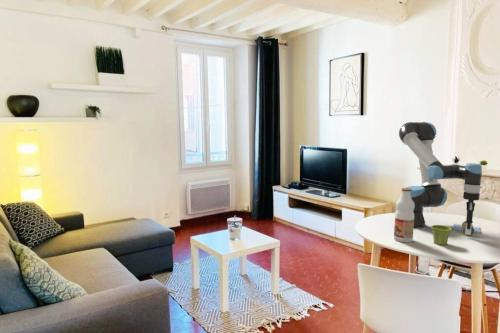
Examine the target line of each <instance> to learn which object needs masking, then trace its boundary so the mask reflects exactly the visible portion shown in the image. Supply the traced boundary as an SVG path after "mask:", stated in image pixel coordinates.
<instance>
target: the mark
mask: <svg viewBox="0 0 500 333" xmlns="http://www.w3.org/2000/svg"><path fill="white" fill-rule="evenodd" d="M452 225H453V230H454V231H460V232H463V228H462V224H460V223H459V224H458V223H453V224H452ZM477 227H478V226H476V227H474V225H473V228H474V232H475V234H482V230H481V228H480V229H479V228H477Z"/></svg>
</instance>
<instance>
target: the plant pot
mask: <svg viewBox="0 0 500 333" xmlns="http://www.w3.org/2000/svg"><path fill="white" fill-rule="evenodd" d="M431 230H432V238H433V239H432V240H433V244H435V245H440V246H446V245H448V241H449V237H450V233H451V231H452V227H451V226H448V225H442V224H433V225H431Z"/></svg>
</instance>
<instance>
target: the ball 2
mask: <svg viewBox="0 0 500 333" xmlns="http://www.w3.org/2000/svg"><path fill="white" fill-rule="evenodd" d="M465 229H466V226H465V227H464V228H463V231H462V232H463V234H464V235H466V234H465ZM472 235H474V228H473V227H472V228H471V235H470V236H472Z"/></svg>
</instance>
